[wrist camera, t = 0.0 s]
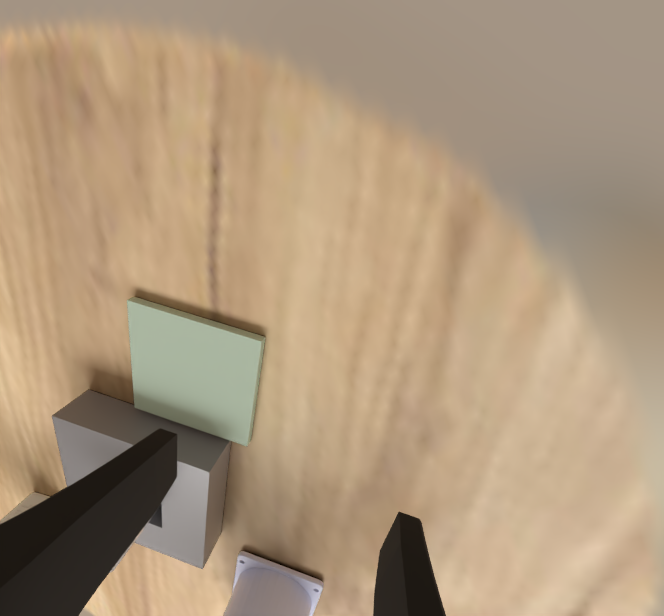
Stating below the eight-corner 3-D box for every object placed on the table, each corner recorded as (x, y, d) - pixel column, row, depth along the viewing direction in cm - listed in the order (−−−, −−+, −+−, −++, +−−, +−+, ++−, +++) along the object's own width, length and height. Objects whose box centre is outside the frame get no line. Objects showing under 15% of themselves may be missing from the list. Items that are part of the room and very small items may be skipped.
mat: (250, 440, 25) (247, 446, 24) (140, 402, 26) (134, 407, 25) (265, 336, 21) (261, 341, 20) (134, 296, 22) (126, 299, 21)
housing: (221, 532, 30) (202, 569, 28) (103, 488, 31) (74, 518, 29) (231, 438, 25) (209, 472, 22) (88, 389, 26) (51, 415, 24)
